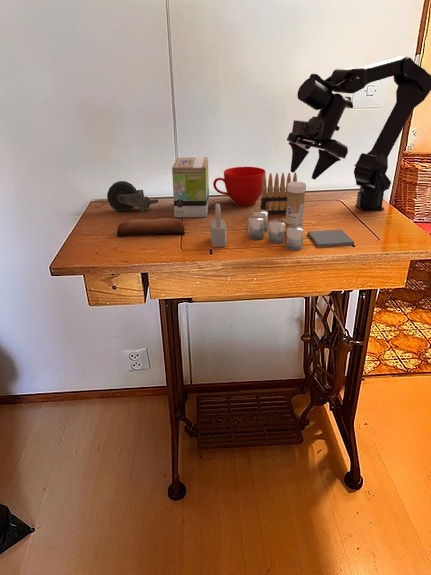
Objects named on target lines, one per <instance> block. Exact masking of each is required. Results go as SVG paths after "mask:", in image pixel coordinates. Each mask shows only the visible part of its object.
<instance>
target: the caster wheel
mask: <svg viewBox="0 0 431 575" xmlns="http://www.w3.org/2000/svg"><path fill="white" fill-rule="evenodd" d="M144 193H145V192H144V190H143V189H136V187H135V186H134V185H133V184H132V183H130V182H128V181H125V180H119V181H116V182H114V183H112V185H111V186H110V187H109V188H108V192H107V193H106V196H107V197H106V199H107V202H108V204H109V206H110V207H111V208H112V209H113V210H115V211H118V212H119V213H121V212H122V213H127V212H129V211H132V210H133V209H134V208H140V209H139V210H140V212H141V213H145V211H146V209H147V210H148V209H150V206H151V205H154V204H158V203H159V199H157V198H156V199H149V197H148V196H145V194H144ZM144 210H145V211H144Z"/></svg>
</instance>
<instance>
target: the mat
mask: <svg viewBox="0 0 431 575" xmlns="http://www.w3.org/2000/svg"><path fill="white" fill-rule="evenodd" d="M307 235H308V237H309V238H310V239H311V240H312V242H313V243H314V244H315V245H316V247H317V248H328V247H342V246H354V245H355V241H354V240H353V239H352V238H351V237H350V236H349V235H348V234H347V233H346V232H345V231H344V230H343V229H342V228H340V229H325V230H308V231H307Z"/></svg>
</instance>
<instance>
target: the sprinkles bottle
mask: <svg viewBox="0 0 431 575" xmlns="http://www.w3.org/2000/svg"><path fill="white" fill-rule="evenodd" d="M306 190H307V184H306V183H305V182H303V181H297V182H293V181H291V182H290V183H288V185H287V191H288V198H287V211H286V214H285V233H284V235H286V234H287V227H288V226H291V225H299V226H302V227H304V226H303V225H304V224H303V223H304V213H305V197H306V196H305V195H306Z"/></svg>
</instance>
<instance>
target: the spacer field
mask: <svg viewBox="0 0 431 575" xmlns="http://www.w3.org/2000/svg"><path fill="white" fill-rule="evenodd" d="M247 226H248V229H247V230H248V236H247V237H248V239H250V240H254V241H255V240H258V241H259V240H262V239H264V237H265V233H266V232H268V235H267V236H268V239H267V240H268V241H267V242H269V243H270V244H274V245H275V244H283V243H284V242H285V249H287V250H289V251H301V250H302V249H303V243H304V229H305V227H304V226H299V225H291V226H288V227H287V234H285V231H286V220H284V219H281V218H273V219H269V215H268V211H266V210H260V209H255V210H253V211H252V215H251V216H249V217H248V225H247ZM285 235H286V237H285ZM285 238H286V239H285ZM285 240H286V241H285Z"/></svg>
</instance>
